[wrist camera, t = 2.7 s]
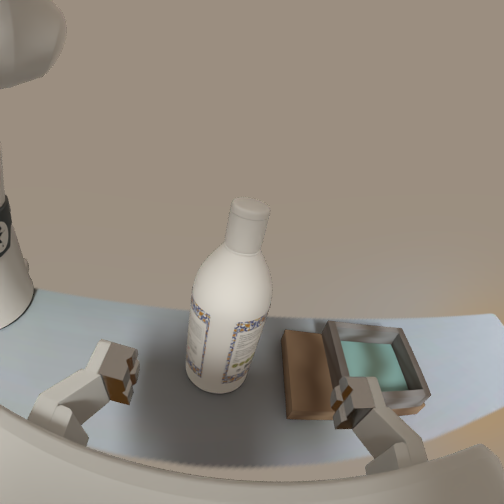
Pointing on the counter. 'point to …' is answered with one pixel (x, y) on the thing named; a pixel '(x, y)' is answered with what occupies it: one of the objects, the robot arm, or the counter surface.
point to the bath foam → (230, 302)
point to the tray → (349, 368)
